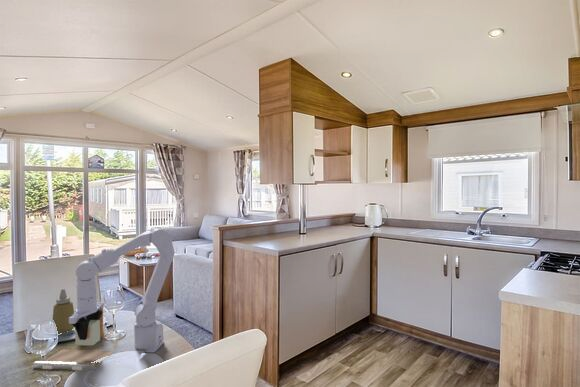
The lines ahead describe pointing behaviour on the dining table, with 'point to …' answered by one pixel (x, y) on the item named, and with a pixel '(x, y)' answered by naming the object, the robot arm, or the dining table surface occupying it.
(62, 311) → the squeeze bottle
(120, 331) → the dining table surface
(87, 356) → the shelf board
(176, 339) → the dining table surface
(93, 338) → the carton
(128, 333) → the dining table surface
